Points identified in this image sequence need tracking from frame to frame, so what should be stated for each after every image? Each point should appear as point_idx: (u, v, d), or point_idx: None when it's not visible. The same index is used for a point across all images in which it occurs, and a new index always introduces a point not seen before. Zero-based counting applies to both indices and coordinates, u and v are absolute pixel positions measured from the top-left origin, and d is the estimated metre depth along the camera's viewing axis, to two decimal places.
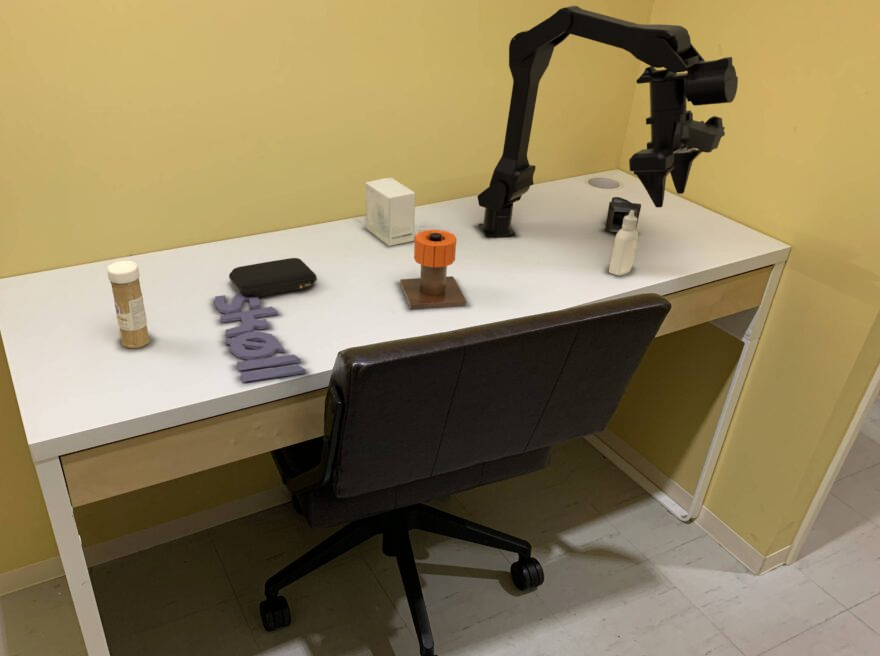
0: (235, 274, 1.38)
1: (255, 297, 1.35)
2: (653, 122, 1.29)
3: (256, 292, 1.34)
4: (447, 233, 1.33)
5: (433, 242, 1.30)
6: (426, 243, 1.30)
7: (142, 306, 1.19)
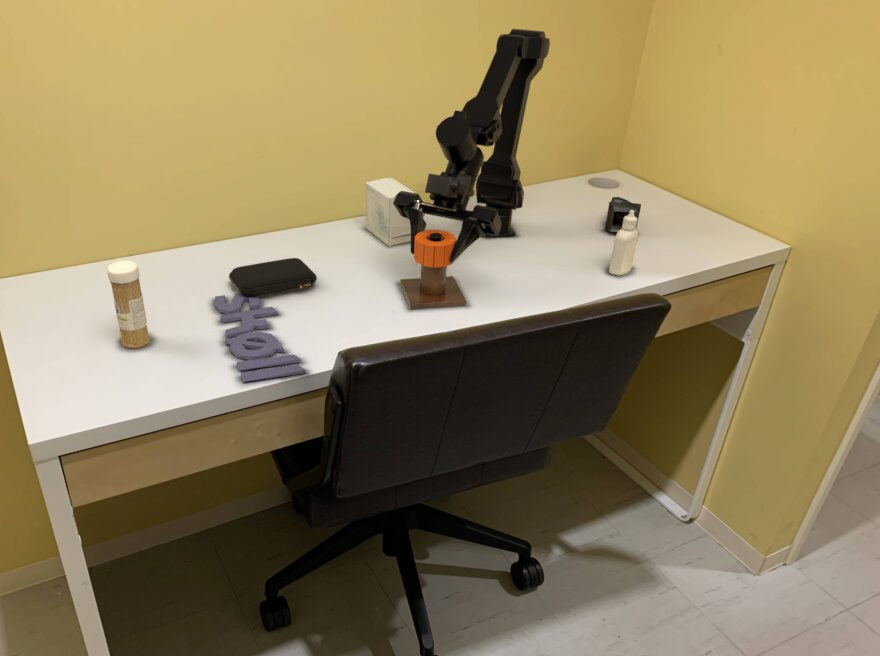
0: (235, 274, 1.38)
1: (255, 297, 1.35)
2: None
3: (256, 293, 1.34)
4: (447, 233, 1.33)
5: (433, 242, 1.30)
6: (426, 243, 1.30)
7: (142, 306, 1.19)
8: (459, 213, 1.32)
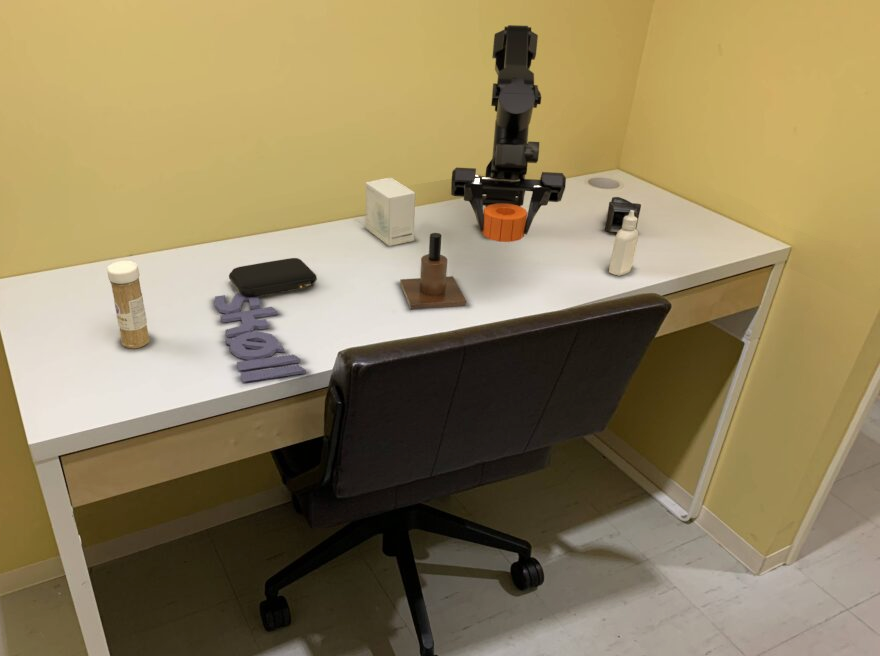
0: (235, 274, 1.38)
1: (255, 297, 1.35)
2: None
3: (256, 293, 1.34)
4: (511, 205, 1.29)
5: (508, 215, 1.25)
6: (503, 217, 1.24)
7: (142, 306, 1.19)
8: (521, 183, 1.28)
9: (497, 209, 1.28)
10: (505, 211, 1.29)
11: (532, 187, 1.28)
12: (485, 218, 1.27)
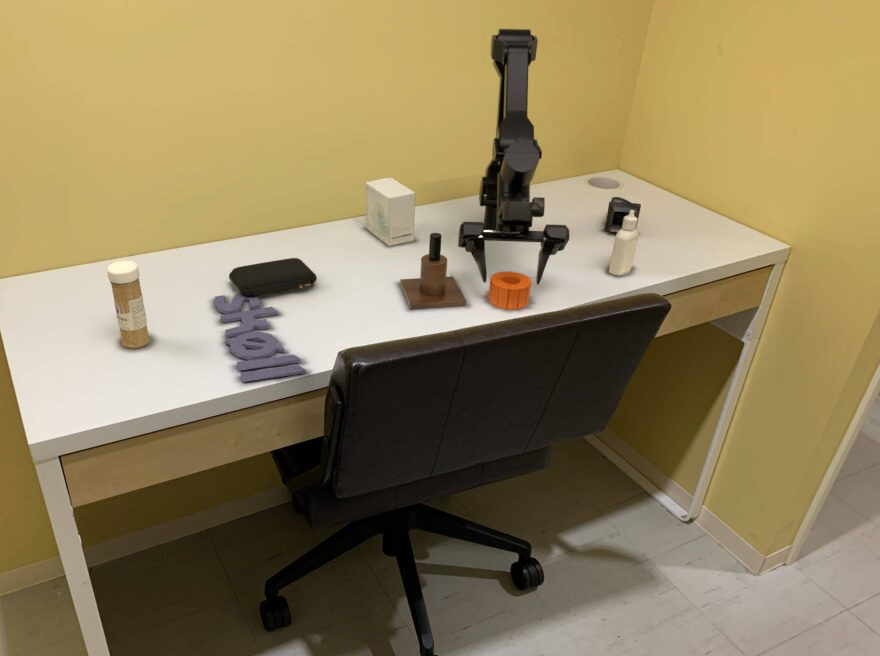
0: (235, 274, 1.38)
1: (255, 297, 1.35)
2: None
3: (256, 293, 1.34)
4: (516, 273, 1.36)
5: (514, 285, 1.32)
6: (510, 287, 1.32)
7: (142, 306, 1.19)
8: (526, 235, 1.34)
9: (502, 278, 1.35)
10: (510, 279, 1.36)
11: (542, 239, 1.34)
12: (492, 287, 1.33)
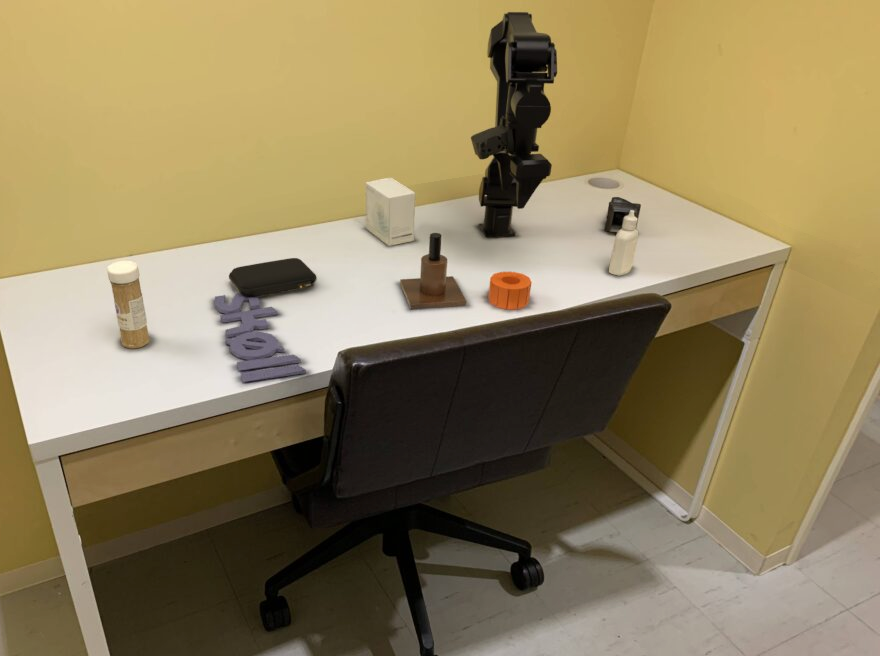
0: (235, 274, 1.38)
1: (255, 297, 1.35)
2: None
3: (256, 293, 1.34)
4: (516, 273, 1.36)
5: (514, 285, 1.32)
6: (510, 287, 1.32)
7: (142, 306, 1.19)
8: None
9: (502, 278, 1.35)
10: (510, 279, 1.36)
11: None
12: (492, 287, 1.33)
